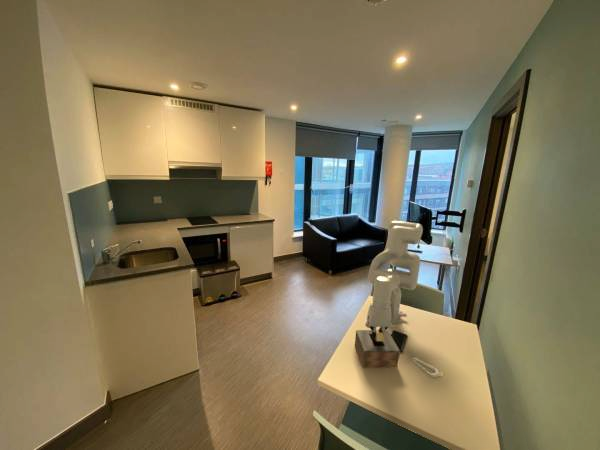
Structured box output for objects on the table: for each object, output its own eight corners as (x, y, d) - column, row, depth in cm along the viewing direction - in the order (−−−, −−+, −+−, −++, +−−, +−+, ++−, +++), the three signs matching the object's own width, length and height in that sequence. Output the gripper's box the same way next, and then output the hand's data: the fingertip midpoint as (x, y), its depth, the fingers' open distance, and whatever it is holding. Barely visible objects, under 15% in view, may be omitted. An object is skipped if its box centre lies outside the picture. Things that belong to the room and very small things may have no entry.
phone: (407, 335, 130) (402, 351, 118) (407, 336, 130) (402, 353, 118) (392, 329, 134) (386, 345, 122) (392, 331, 135) (385, 347, 122)
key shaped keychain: (408, 364, 113) (409, 361, 112) (413, 359, 116) (413, 356, 116) (439, 381, 103) (439, 377, 103) (442, 374, 107) (443, 371, 106)
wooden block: (378, 338, 115) (378, 330, 116) (383, 341, 110) (382, 332, 111) (372, 338, 115) (371, 330, 116) (376, 341, 110) (376, 332, 110)
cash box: (385, 345, 123) (387, 330, 121) (397, 367, 109) (399, 350, 107) (354, 345, 122) (356, 330, 120) (362, 367, 109) (364, 350, 107)
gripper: (394, 298, 113) (390, 332, 118) (361, 298, 113) (358, 332, 117) (401, 307, 106) (396, 343, 110) (366, 307, 105) (362, 343, 110)
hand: (377, 337), depth 114 cm, fingers closed on wooden block, 2 cm apart
